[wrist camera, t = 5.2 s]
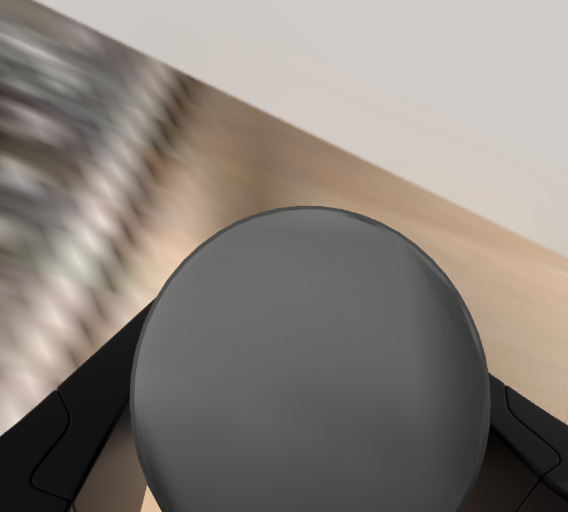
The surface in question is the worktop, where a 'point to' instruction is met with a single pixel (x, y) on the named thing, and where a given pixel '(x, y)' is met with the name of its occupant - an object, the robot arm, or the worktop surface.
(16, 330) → the worktop surface
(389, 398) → the canister
